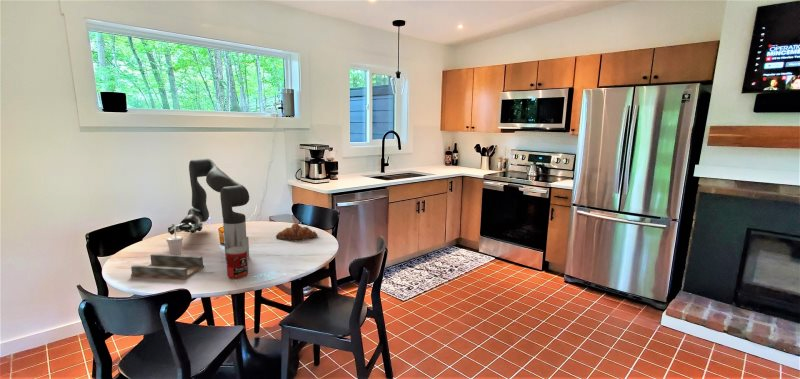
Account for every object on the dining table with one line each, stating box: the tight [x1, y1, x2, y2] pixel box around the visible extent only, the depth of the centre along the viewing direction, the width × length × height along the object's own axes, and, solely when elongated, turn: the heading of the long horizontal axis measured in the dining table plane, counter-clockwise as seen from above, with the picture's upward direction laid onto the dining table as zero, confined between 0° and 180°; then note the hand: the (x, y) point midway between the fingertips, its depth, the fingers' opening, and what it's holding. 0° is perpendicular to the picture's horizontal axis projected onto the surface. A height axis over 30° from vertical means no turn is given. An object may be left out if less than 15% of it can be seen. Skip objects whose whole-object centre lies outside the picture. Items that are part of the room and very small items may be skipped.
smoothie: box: [165, 228, 184, 255], centre depth 167 cm, size 6×6×14 cm
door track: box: [130, 253, 205, 281], centre depth 153 cm, size 22×13×5 cm, turn 86°
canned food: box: [225, 246, 249, 280], centre depth 151 cm, size 8×8×11 cm
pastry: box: [275, 222, 318, 242], centre depth 202 cm, size 17×15×8 cm
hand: (181, 232), depth 177 cm, fingers open, 8 cm apart
